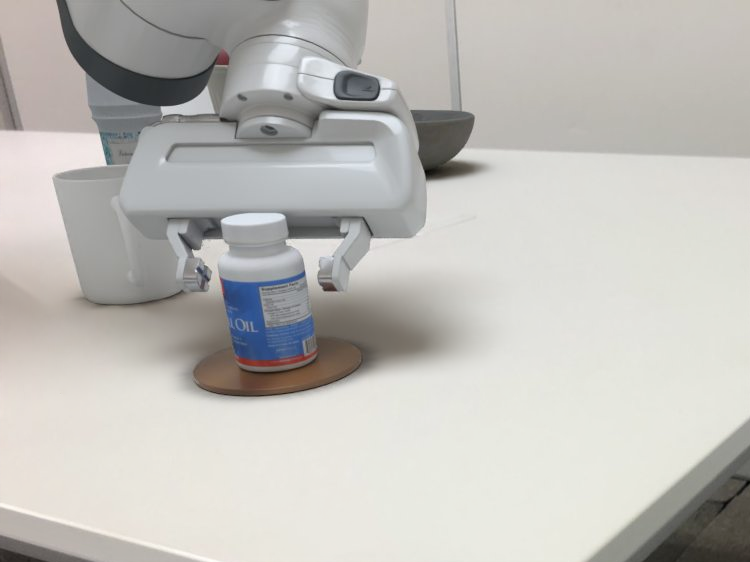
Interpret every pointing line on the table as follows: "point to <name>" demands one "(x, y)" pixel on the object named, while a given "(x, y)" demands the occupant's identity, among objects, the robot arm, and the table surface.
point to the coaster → (234, 380)
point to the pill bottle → (265, 294)
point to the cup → (111, 241)
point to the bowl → (441, 135)
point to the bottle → (118, 121)
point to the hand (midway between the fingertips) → (261, 287)
